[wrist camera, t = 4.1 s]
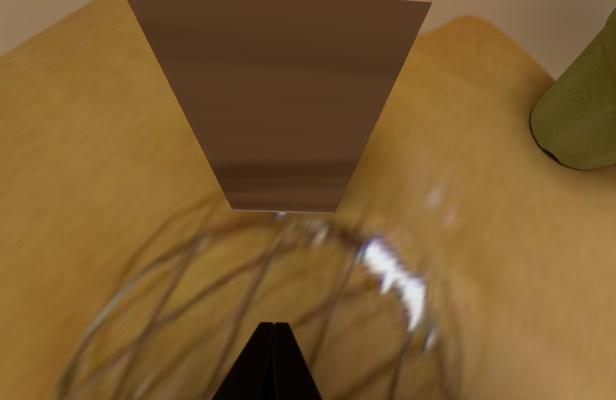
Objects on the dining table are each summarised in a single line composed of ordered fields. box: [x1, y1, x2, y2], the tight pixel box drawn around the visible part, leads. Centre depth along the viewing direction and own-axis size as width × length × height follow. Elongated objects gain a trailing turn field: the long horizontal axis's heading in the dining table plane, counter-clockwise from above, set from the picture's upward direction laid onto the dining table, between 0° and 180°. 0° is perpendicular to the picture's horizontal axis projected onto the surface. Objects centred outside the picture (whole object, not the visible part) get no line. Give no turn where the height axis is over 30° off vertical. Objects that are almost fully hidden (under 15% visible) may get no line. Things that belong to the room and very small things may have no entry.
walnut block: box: [128, 0, 432, 214], centre depth 14 cm, size 6×6×14 cm
